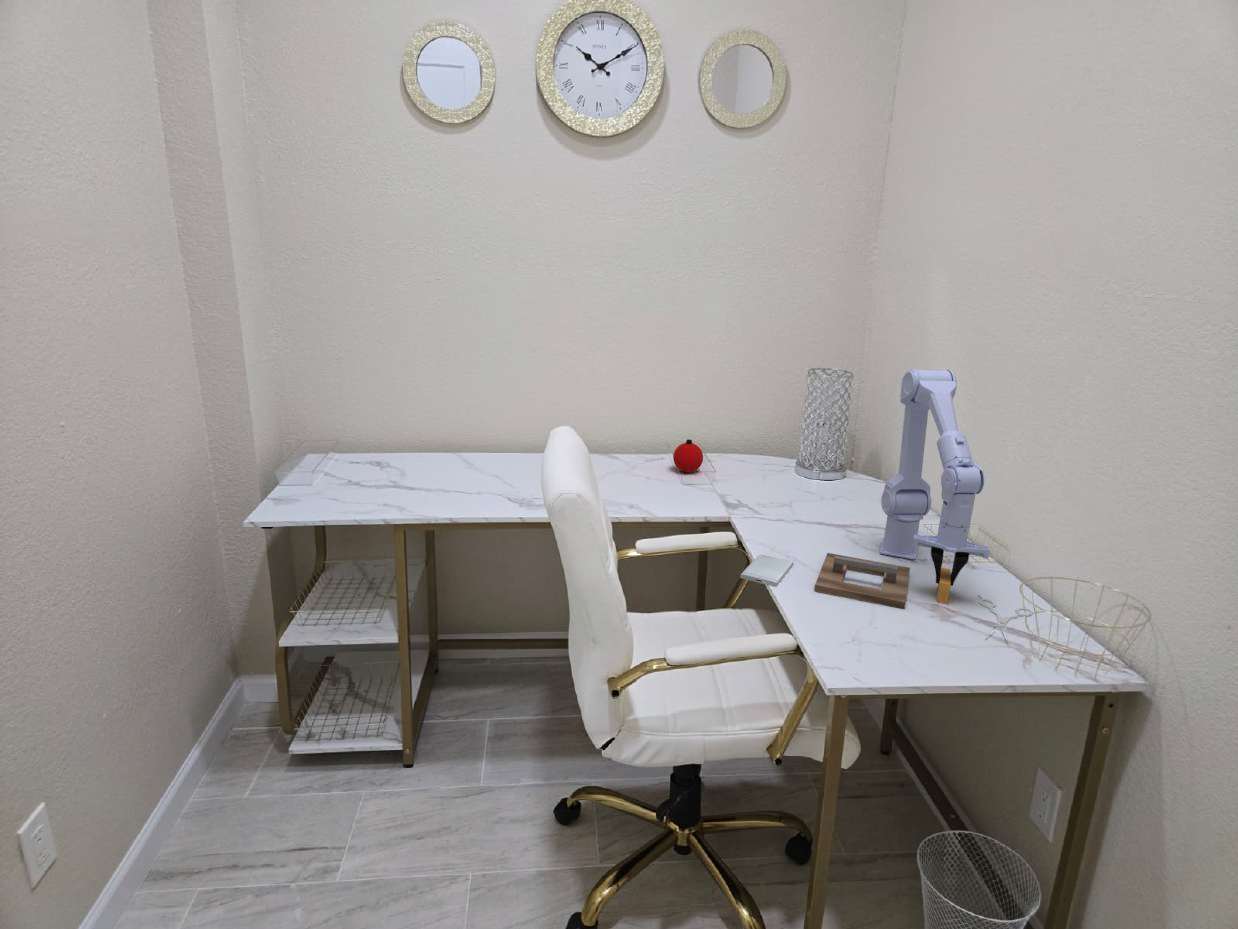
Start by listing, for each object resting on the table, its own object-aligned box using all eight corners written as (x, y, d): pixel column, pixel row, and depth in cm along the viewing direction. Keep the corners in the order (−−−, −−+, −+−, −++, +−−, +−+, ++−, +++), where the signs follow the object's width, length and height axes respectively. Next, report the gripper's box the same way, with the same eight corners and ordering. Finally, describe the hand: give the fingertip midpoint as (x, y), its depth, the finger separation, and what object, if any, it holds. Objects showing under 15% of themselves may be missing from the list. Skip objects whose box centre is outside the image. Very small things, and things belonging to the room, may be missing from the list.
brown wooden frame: (826, 558, 182) (827, 552, 182) (909, 573, 176) (910, 567, 176) (814, 591, 167) (815, 584, 166) (904, 609, 160) (905, 602, 160)
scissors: (1033, 607, 162) (1028, 650, 146) (1033, 610, 163) (1027, 653, 146) (977, 594, 167) (966, 634, 151) (977, 597, 168) (965, 637, 151)
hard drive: (758, 553, 182) (740, 573, 171) (794, 561, 178) (777, 582, 168) (758, 560, 182) (739, 580, 172) (793, 568, 179) (776, 589, 168)
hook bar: (833, 568, 174) (835, 555, 173) (895, 580, 170) (897, 566, 169) (832, 572, 172) (834, 558, 171) (895, 583, 168) (897, 570, 167)
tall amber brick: (937, 586, 171) (940, 567, 169) (947, 588, 170) (950, 569, 168) (936, 602, 163) (940, 582, 162) (947, 604, 163) (950, 584, 161)
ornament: (694, 478, 234) (696, 445, 231) (667, 472, 238) (669, 440, 235) (707, 470, 242) (709, 438, 238) (680, 465, 246) (682, 434, 243)
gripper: (916, 523, 161) (906, 583, 165) (994, 535, 155) (982, 597, 160) (917, 511, 167) (908, 570, 171) (993, 523, 162) (981, 583, 166)
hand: (944, 582), depth 166 cm, fingers closed on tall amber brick, 2 cm apart
